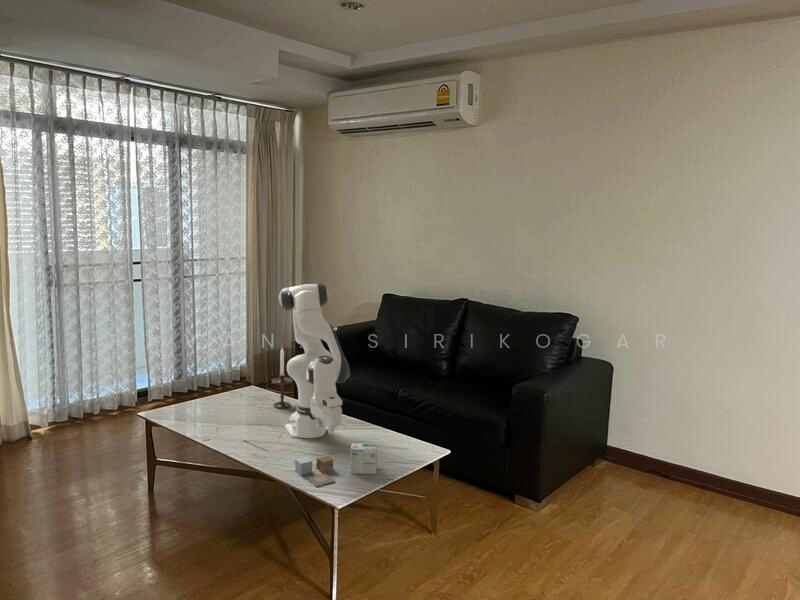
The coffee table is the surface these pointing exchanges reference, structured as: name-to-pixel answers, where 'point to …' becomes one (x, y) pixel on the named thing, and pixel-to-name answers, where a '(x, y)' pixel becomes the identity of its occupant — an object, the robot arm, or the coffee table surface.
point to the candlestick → (282, 383)
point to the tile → (321, 480)
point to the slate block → (303, 465)
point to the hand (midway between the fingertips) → (325, 430)
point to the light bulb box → (363, 458)
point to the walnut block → (324, 464)
